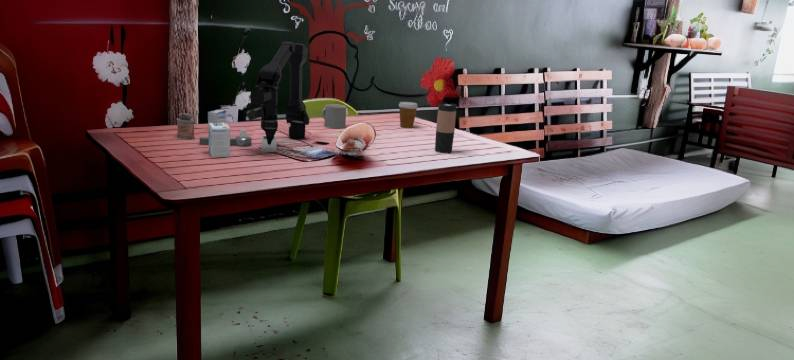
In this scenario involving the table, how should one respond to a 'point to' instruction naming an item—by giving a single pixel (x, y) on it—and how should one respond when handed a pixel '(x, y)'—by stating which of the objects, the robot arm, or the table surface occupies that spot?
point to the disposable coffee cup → (407, 114)
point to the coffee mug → (334, 116)
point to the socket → (268, 147)
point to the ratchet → (233, 140)
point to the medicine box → (216, 117)
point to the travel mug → (445, 127)
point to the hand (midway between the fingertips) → (269, 141)
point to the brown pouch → (185, 126)
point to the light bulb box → (219, 140)
